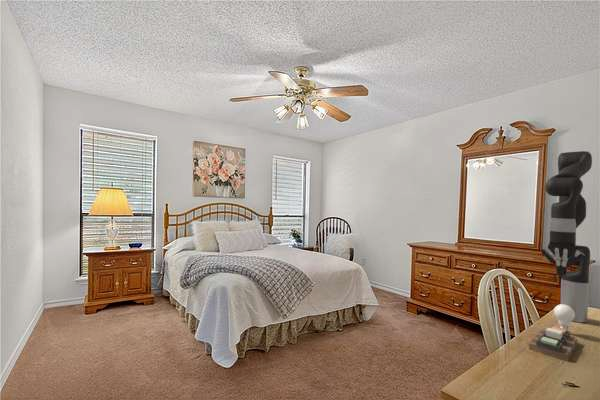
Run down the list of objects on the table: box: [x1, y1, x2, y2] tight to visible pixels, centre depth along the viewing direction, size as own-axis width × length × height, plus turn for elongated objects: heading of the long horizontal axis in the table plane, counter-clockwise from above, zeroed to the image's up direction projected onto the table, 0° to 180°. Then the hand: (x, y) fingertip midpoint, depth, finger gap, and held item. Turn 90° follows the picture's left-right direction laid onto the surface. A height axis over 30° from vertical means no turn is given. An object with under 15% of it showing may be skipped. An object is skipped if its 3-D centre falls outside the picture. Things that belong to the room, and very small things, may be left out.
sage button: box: [541, 337, 558, 347], centre depth 102 cm, size 4×4×2 cm
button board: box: [528, 326, 578, 362], centre depth 107 cm, size 22×10×4 cm, turn 131°
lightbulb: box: [553, 304, 575, 331], centre depth 121 cm, size 6×6×11 cm
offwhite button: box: [545, 326, 563, 340], centre depth 107 cm, size 4×4×2 cm
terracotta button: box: [550, 325, 566, 335], centre depth 113 cm, size 4×4×2 cm
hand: (561, 276), depth 115 cm, fingers closed
